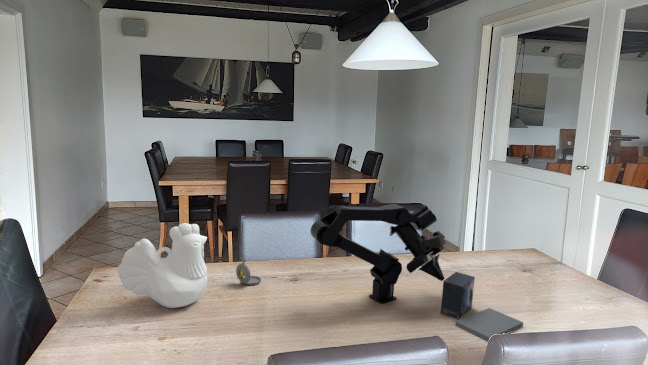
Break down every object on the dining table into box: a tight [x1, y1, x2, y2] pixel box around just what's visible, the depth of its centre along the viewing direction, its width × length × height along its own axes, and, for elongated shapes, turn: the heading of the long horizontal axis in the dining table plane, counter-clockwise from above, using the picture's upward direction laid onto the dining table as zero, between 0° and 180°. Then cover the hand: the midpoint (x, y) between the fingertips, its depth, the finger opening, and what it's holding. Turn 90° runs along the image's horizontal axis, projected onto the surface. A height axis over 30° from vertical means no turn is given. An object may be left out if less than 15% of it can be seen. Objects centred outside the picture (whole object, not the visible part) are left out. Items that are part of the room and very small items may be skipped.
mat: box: [454, 307, 524, 342], centre depth 124 cm, size 16×11×1 cm
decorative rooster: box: [116, 222, 209, 309], centre depth 131 cm, size 25×16×25 cm, turn 107°
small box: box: [439, 271, 475, 320], centre depth 132 cm, size 11×6×10 cm, turn 143°
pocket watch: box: [235, 256, 262, 286], centre depth 150 cm, size 8×8×10 cm
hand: (443, 279), depth 135 cm, fingers closed
